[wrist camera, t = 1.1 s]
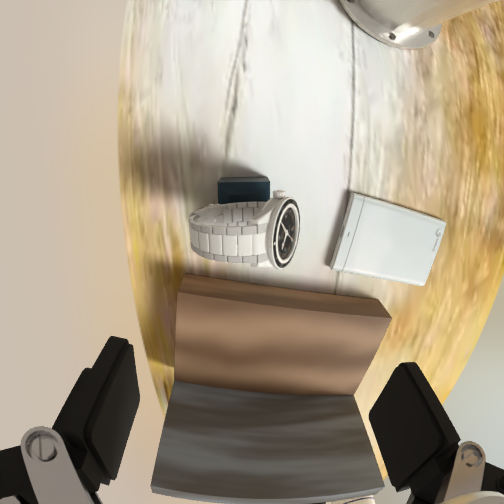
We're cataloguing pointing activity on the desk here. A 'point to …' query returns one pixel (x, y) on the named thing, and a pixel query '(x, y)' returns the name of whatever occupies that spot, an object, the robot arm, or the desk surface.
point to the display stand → (268, 395)
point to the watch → (247, 224)
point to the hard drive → (387, 241)
